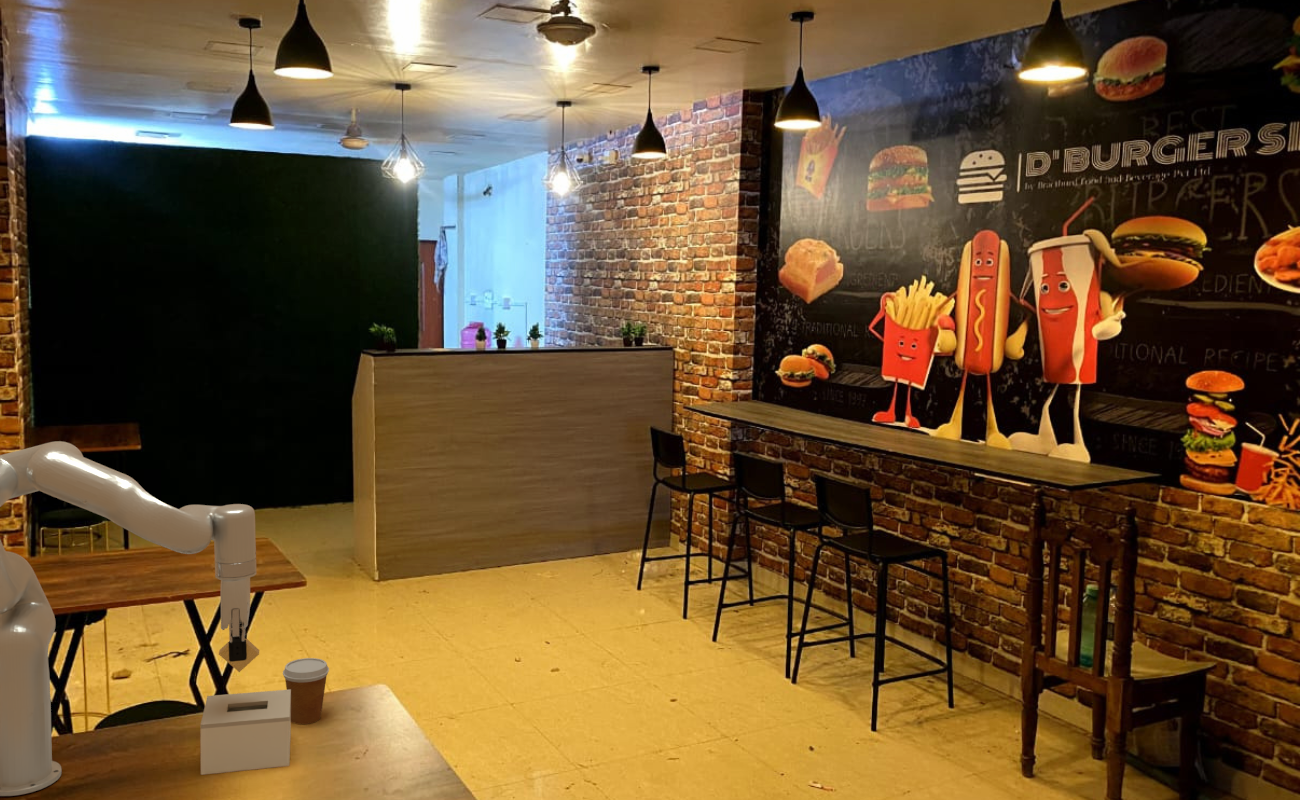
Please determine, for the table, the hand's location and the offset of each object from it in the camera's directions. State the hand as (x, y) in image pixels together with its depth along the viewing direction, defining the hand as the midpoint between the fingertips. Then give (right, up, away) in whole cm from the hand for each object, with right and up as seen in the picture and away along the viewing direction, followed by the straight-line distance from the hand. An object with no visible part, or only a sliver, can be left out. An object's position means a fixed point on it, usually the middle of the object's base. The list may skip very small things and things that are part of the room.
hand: (238, 657), depth 203 cm
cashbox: (+1, -20, +2) cm, 20 cm away
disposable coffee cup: (+7, -18, +20) cm, 28 cm away
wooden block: (+2, -1, +1) cm, 2 cm away
